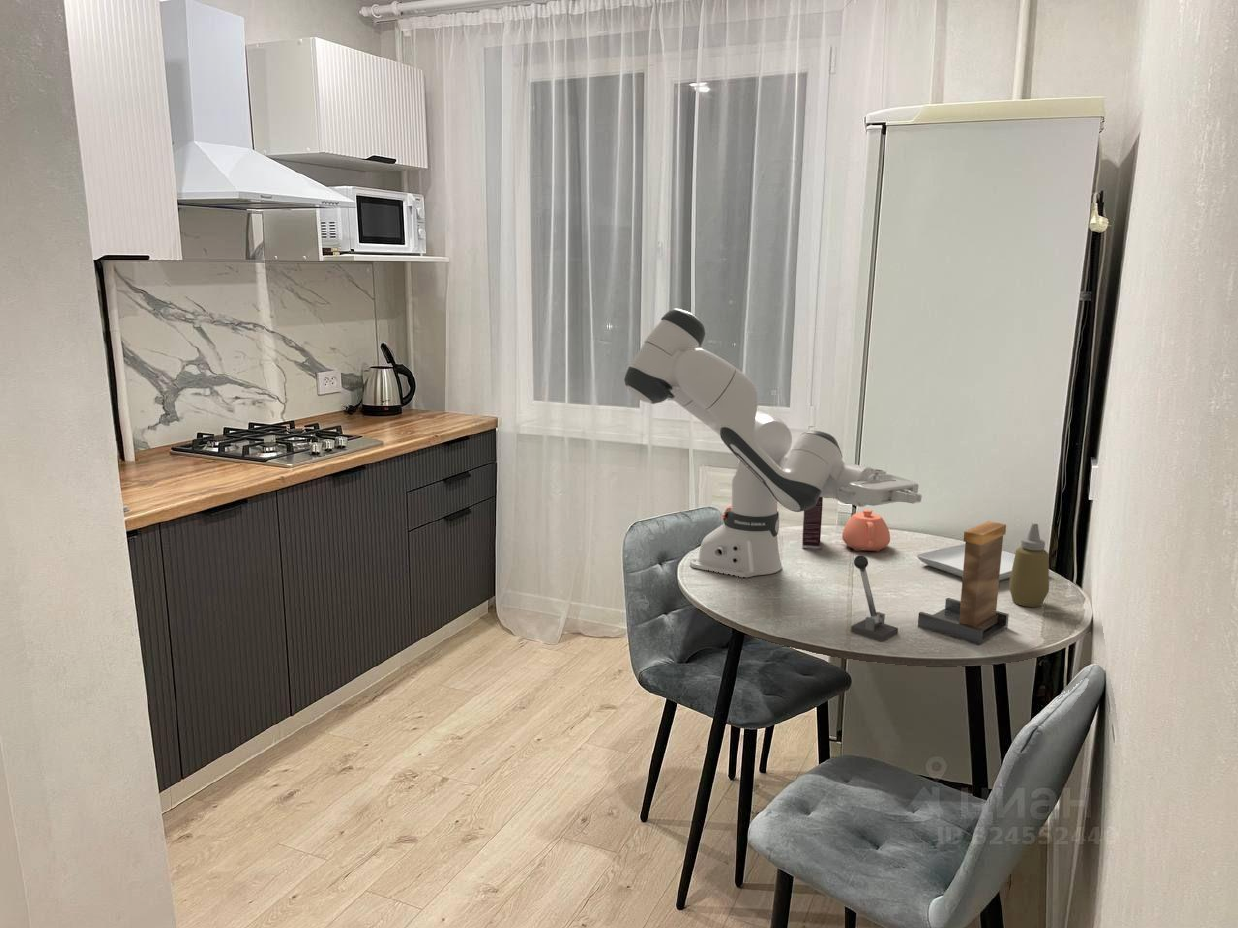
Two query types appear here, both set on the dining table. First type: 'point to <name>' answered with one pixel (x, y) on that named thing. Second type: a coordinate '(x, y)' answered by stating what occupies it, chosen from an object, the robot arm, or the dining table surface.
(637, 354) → the robot arm
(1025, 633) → the dining table surface
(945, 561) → the salad plate
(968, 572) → the walnut paddle
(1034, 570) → the squeeze bottle
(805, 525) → the supplement box
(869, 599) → the toggle lever
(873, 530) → the sugar bowl
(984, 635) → the paddle track
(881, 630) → the lever base
